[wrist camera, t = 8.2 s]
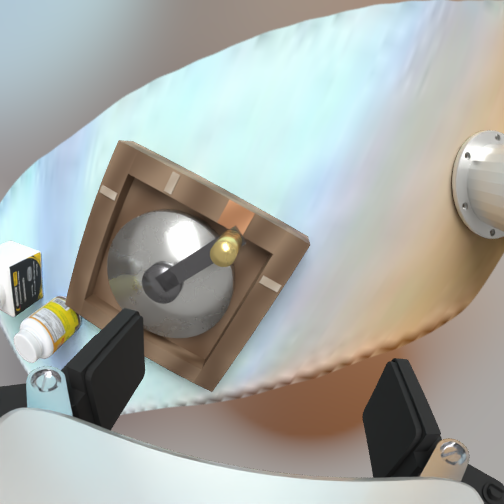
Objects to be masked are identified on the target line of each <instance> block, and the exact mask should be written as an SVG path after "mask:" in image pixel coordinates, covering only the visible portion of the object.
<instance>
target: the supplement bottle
mask: <svg viewBox="0 0 504 504" xmlns="http://www.w3.org/2000/svg"><path fill="white" fill-rule="evenodd" d="M66 298H67V297H65V296H56V297H54V298H53V299H52V300H50V301H49V302H47V303H46V304H45V305H43V306H42V307H40V308H39V309H38V310H36V311H35V312H34V313H32V314H31V315H30V316H28V317H27V318H26V319H24V320H23V321H22V323H21V325H20V331H19V332H18V333H17V334H16V335H15V336H14V345H15V347H16V350H17V351H18V353H19V354H20V356H21V357H22V358H23V359H25V360H26V361H28V362H30V363H34V362H36V361H37V360H38V359H39V358H42V359H46V358H48V357H50V356H51V355H52V354H53V353H54V352H55V351H56V350H57V349H58V348H59V347H60V346H61V345H62V344H63V343H64V342H65V341H66V340H67V339H68V338H69V337H70V336H72V335H73V334H74V333H75V332H76V331H77V330H78V328H79V327H80V325H81V315H79V314H78V313H76V312H75V311H73V310H72V309H71V308H69V307H68V306H66V305H65V303H66Z"/></svg>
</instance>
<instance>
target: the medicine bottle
mask: <svg viewBox="0 0 504 504" xmlns="http://www.w3.org/2000/svg"><path fill="white" fill-rule="evenodd" d="M42 297H43V286H42V266H41V252H40V251H37V250H35V249H32V248H29V247H27V246H24V245H21V244H18V243H16V242H13V241H8V242H6V243H3V244H1V245H0V310H1V311H3V312H5V313H7V314H8V315H10V316H12V317H15V316H17V315H18V314H19V313H21V312H22V311H24V310H25V309H26V308H28V307H29V306H31V305H32V304H34V303H35V302H36V301H38V300H39V299H41V298H42Z"/></svg>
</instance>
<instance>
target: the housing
mask: <svg viewBox="0 0 504 504" xmlns="http://www.w3.org/2000/svg"><path fill="white" fill-rule="evenodd" d="M160 209H174V210H180V211H183V212H187V213H190V214H192V215H194V216H196V217H198V218H200V219H201V220H203V221H205V222H206V223H207V224H208V225H210V226H211V227H212V228H213V229H214V230H215V231H216V232H217V233H218V234H219V235H221V234H222V233H224V232H225V231H227V230H229V229H230V228H232V227H234V226H235V225H236V226H237V228H238V229H239V231H240V232H241V234H242V235H243V237H244V238H245V240H246V241H247V242H246V244H245V245H243V246H241V247H240V250H239V252H238V254H237V256H236V258H235V260H234V262H233V264H234V271H235V286H234V291H233V295H232V298H231V301H230V304H229V306H228V308H227V310H226V312H225V314H224V315H223V317H222V318H221V319H220V321H219V322H218V323H217V324H216V325H214V326H213V327H212V328H211V329H209V330H207V331H206V332H204V333H202V334H199V335H197V336H193V337H188V338H169V337H164V336H160V335H157V334H154V333H152V332H150V331H148V330H146V329H144V356H145V357H147V358H149V359H150V360H152V361H154V362H156V363H157V364H159V365H161V366H163V367H165V368H166V369H168V370H170V371H172V372H174V373H176V374H178V375H179V376H181V377H183V378H185V379H187V380H189V381H191V382H193V383H195V384H197V385H199V386H201V387H203V388H205V389H207V390H209V391H211V392H212V391H213V390H214V388H215V387H216V386H217V384H218V383H219V381H220V380H221V379H222V377H223V376H224V374H225V373H226V371H227V370H228V369H229V367H230V366H231V364H232V363H233V361H234V360H235V359H236V357H237V356H238V354H239V353H240V351H241V350H242V348H243V347H244V345H245V344H246V342H247V341H248V340H249V338H250V337H251V335H252V334H253V332H254V331H255V329H256V328H257V326H258V325H259V323H260V322H261V320H262V319H263V317H264V316H265V314H266V313H267V311H268V310H269V308H270V307H271V305H272V304H273V302H274V301H275V299H276V298H277V296H278V295H279V293H280V292H281V290H282V288H283V287H284V285H285V284H286V282H287V281H288V279H289V278H290V276H291V275H292V273H293V271H294V270H295V268H296V267H297V265H298V264H299V262H300V260H301V259H302V257H303V256H304V254H305V253H306V251H307V249H308V248H309V246H310V242H309V239H308V236H306V235H304V234H303V233H301V232H299V231H298V230H296V229H294V228H292V227H291V226H289V225H287V224H285V223H284V222H282V221H280V220H278V219H277V218H275V217H273V216H271V215H270V214H268V213H266V212H264V211H263V210H261V209H259V208H257V207H255V206H254V205H252V204H250V203H248V202H246V201H245V200H243V199H241V198H239V197H237V196H236V195H234V194H232V193H230V192H228V191H227V190H225V189H223V188H221V187H219V186H217V185H215V184H214V183H212V182H210V181H208V180H206V179H204V178H203V177H201V176H199V175H197V174H195V173H193V172H191V171H189V170H187V169H186V168H184V167H182V166H180V165H178V164H176V163H174V162H172V161H170V160H168V159H166V158H165V157H163V156H161V155H159V154H157V153H155V152H153V151H151V150H149V149H147V148H145V147H143V146H141V145H139V144H137V143H135V142H133V141H120V140H119V141H118V143H117V146H116V148H115V150H114V153H113V155H112V157H111V160H110V162H109V165H108V167H107V170H106V172H105V175H104V177H103V180H102V182H101V185H100V188H99V190H98V193H97V196H96V199H95V201H94V204H93V207H92V210H91V213H90V216H89V219H88V222H87V225H86V228H85V231H84V234H83V238H82V241H81V244H80V248H79V251H78V255H77V258H76V262H75V266H74V269H73V273H72V277H71V281H70V285H69V289H68V294H67V298H66V303H65V305H66V306H68V307H69V308H71V309H72V310H73V311H75V312H76V313H78V314H79V315H81V316H82V317H83V318H85V319H86V320H88V321H89V322H91V323H92V324H94V325H95V326H97V327H98V328H100V329H101V330H102V329H103V328H104V327H105V326H106V325H107V324H108V323H109V322H110V321H111V320H112V319H113V318H114V317H115V316H116V315H117V314H118V313H119V312H120V311H121V310H122V308H121V307H120V305H119V304H118V302H117V301H116V299H115V297H114V295H113V293H112V290H111V287H110V284H109V280H108V274H107V259H108V253H109V249H110V246H111V244H112V241H113V239H114V238H115V236H116V234H117V233H118V232H119V230H120V229H121V228H122V227H123V226H124V225H125V224H126V223H128V222H129V221H131V220H132V219H134V218H136V217H138V216H140V215H142V214H145V213H147V212H150V211H154V210H160Z"/></svg>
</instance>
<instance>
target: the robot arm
mask: <svg viewBox="0 0 504 504" xmlns="http://www.w3.org/2000/svg"><path fill="white" fill-rule="evenodd" d="M452 189H453V197H454V201H455V206H456V208H457V211H458V213H459V216H460V217H461V219H462V221H463V222H464V224H465V225H466V226H467V227H468V228H469V229H470V230H471V231H472V232H474V233H475V234H477V235H479V236H481V237H484V238H488V239H497V238H501V237H504V134H503V133H501V132H498V131H491V130H487V131H480V132H478V133H475V134H473V135H472V136H471V137H469V138H468V139H467V140H466V141H465V143H464V144H463V145H462V147H461V149H460V150H459V152H458V154H457V157H456V160H455V163H454V169H453V175H452ZM462 205H463V206H462ZM144 374H145V360H144V325H143V317H142V316H140V314H139V312H138V311H135V310H131V309H128V308H124V309H122V310H121V311H120V312H119V313H118V314H117V315H116V316H115V317H114V318H113V319H112V320H111V321H110V322H109V323H108V324H107V325H106V326H105V327H104V328H103V329H102V330H101V331H100V332H99V333H98V334H97V335H95V336H94V337H93V338H92V339H91V340H90V341H89V342H88V343H87V344H86V345H85V346H84V347H83V348H82V349H81V350H80V351H79V352H78V353H77V354H76V355H75V356H74V358H73V359H72V360H71V361H70V362H69V363H68V364H67V365H66V366H65V367H64V368H63V369H62V370H59V369H57V368H55V367H51V366H43V367H39V368H36V369H34V370H33V371H32V372H30V373H29V375H28V377H27V381H26V384H19V385H11V386H2V387H0V504H504V486H503V484H502V483H501V482H499V481H498V480H496V479H494V478H492V477H490V476H489V475H487V474H485V473H483V472H482V471H480V470H478V469H476V468H474V467H473V466H471V465H469V464H468V462H469V458H470V457H469V456H470V455H469V451H468V450H467V448H466V446H465V445H464V444H463V443H461V442H460V441H458V440H455V439H449V438H448V439H443V440H442V439H441V436H440V434H441V433H440V430H439V427H438V425H437V423H436V420H435V418H434V415H433V413H432V411H431V409H430V406H429V404H428V402H427V399H426V397H425V395H424V393H423V391H422V389H421V386H420V384H419V382H418V380H417V378H416V375H415V374H414V371H413V369H412V367H411V365H410V363H409V361H408V360H407V359H396V358H394V359H393V360H392V361H391V362H388V363H387V364H386V367H385V369H384V371H383V373H382V375H381V377H380V379H379V381H378V383H377V386H376V388H375V390H374V392H373V394H372V396H371V398H370V400H369V402H368V404H367V405H366V407H365V409H364V412H363V423H364V428H365V433H366V438H367V443H368V449H369V455H370V460H371V466H372V472H373V478H346V477H322V476H308V475H297V474H288V473H279V472H271V471H264V470H258V469H251V468H245V467H240V466H234V465H229V464H224V463H219V462H215V461H210V460H206V459H201V458H198V457H193V456H190V455H186V454H182V453H178V452H174V451H171V450H168V449H164V448H161V447H157V446H154V445H151V444H148V443H145V442H142V441H139V440H136V439H133V438H130V437H127V436H124V435H122V434H119V433H116V432H113V431H111V428H112V427H113V425H114V424H115V422H116V420H117V419H118V417H119V416H120V414H121V413H122V411H123V409H124V408H125V406H126V405H127V403H128V401H129V400H130V398H131V397H132V395H133V393H134V392H135V390H136V389H137V387H138V385H139V384H140V382H141V381H142V379H143V377H144Z"/></svg>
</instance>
